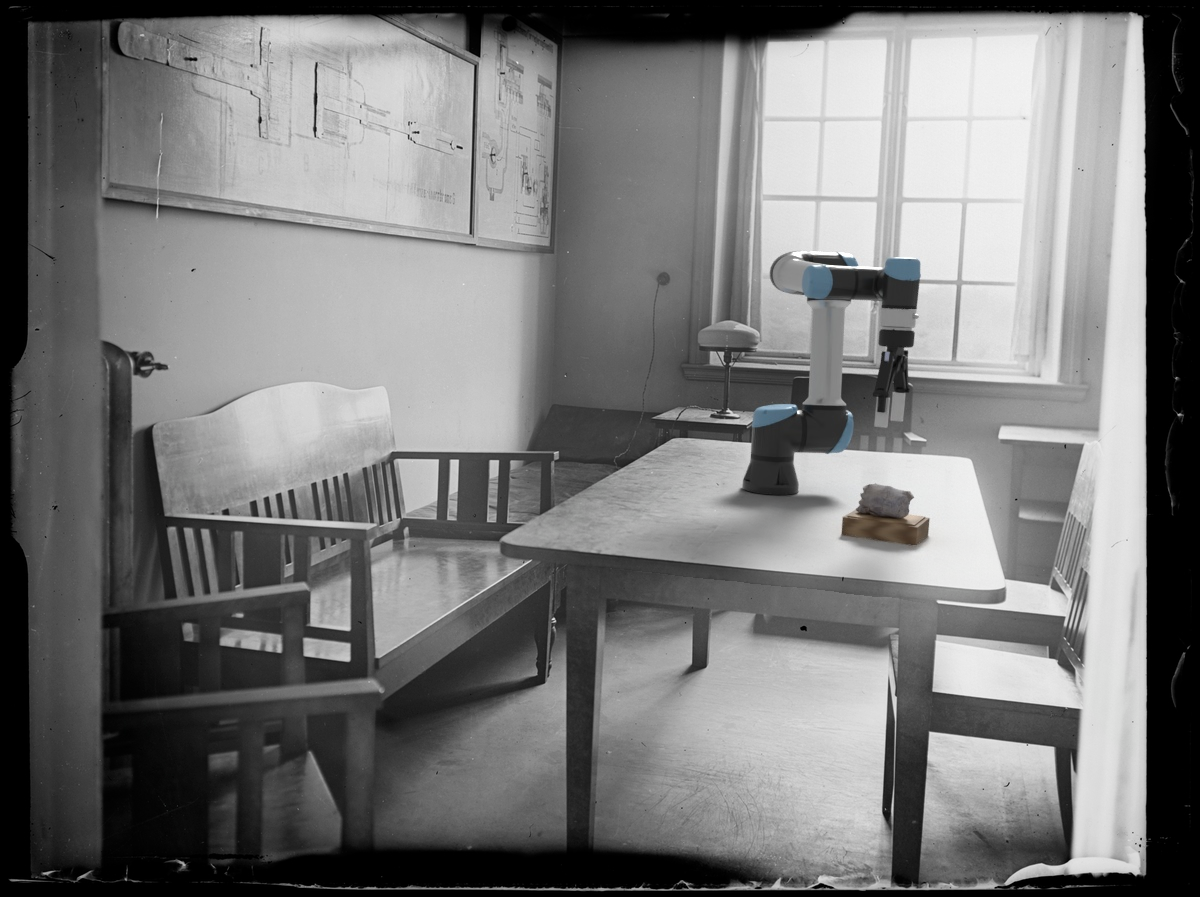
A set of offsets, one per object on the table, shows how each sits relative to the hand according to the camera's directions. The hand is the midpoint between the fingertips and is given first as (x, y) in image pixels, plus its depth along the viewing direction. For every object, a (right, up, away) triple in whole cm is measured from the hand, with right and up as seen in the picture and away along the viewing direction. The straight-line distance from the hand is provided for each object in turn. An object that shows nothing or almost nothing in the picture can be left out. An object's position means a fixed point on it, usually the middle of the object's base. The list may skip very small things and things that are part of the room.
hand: (888, 424), depth 215 cm
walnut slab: (-2, -25, -3) cm, 25 cm away
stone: (-2, -21, -3) cm, 21 cm away
